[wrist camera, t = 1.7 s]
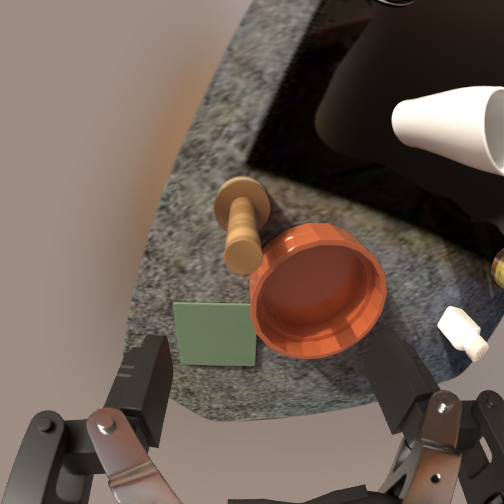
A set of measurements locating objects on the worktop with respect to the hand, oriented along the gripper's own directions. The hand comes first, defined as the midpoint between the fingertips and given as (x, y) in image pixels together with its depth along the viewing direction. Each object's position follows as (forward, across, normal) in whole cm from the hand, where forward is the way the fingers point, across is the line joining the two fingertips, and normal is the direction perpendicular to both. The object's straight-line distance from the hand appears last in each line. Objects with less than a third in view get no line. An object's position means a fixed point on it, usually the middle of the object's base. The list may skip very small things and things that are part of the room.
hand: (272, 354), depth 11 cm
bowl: (+21, -7, +8) cm, 24 cm away
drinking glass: (+21, -17, -11) cm, 29 cm away
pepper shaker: (+21, -31, +15) cm, 41 cm away
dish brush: (+21, +1, -1) cm, 21 cm away
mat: (+21, +4, +16) cm, 27 cm away
